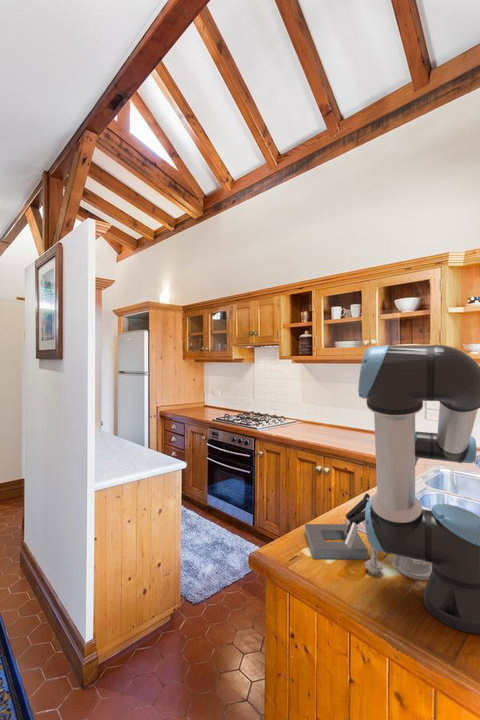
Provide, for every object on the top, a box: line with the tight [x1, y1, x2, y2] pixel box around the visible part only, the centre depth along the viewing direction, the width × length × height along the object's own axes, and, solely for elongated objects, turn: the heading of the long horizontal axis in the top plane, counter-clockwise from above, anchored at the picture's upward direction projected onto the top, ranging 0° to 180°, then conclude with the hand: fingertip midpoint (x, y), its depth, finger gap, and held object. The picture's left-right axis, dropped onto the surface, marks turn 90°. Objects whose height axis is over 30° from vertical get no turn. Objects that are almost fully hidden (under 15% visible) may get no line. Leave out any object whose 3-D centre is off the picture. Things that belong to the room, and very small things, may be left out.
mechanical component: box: [396, 556, 432, 581], centre depth 103 cm, size 10×4×10 cm
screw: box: [364, 545, 384, 576], centre depth 102 cm, size 13×5×5 cm
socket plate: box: [304, 523, 369, 560], centre depth 117 cm, size 16×16×3 cm
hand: (369, 555), depth 101 cm, fingers open, 13 cm apart
